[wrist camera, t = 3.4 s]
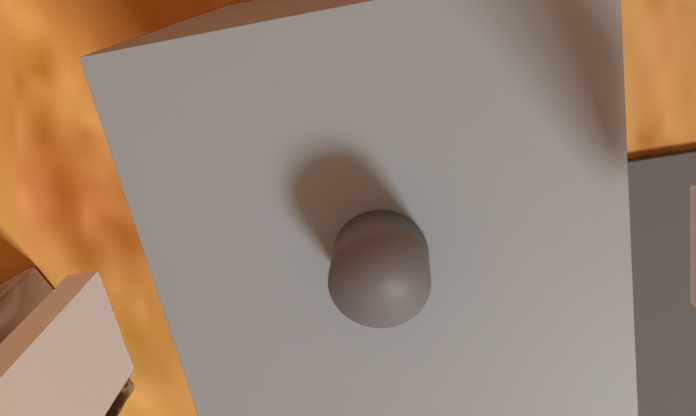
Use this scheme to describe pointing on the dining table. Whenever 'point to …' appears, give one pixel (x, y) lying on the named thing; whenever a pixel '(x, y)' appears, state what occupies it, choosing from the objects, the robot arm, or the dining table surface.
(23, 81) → the dining table surface
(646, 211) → the mat
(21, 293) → the coffee box
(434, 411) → the cover
